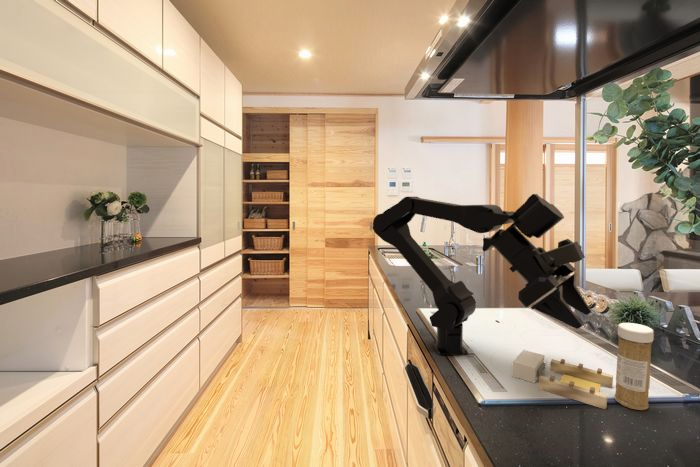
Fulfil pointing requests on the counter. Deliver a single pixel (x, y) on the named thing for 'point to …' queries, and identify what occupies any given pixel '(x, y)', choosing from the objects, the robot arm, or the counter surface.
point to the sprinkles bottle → (633, 365)
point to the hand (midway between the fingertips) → (584, 320)
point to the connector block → (528, 366)
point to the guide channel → (575, 391)
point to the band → (580, 382)
